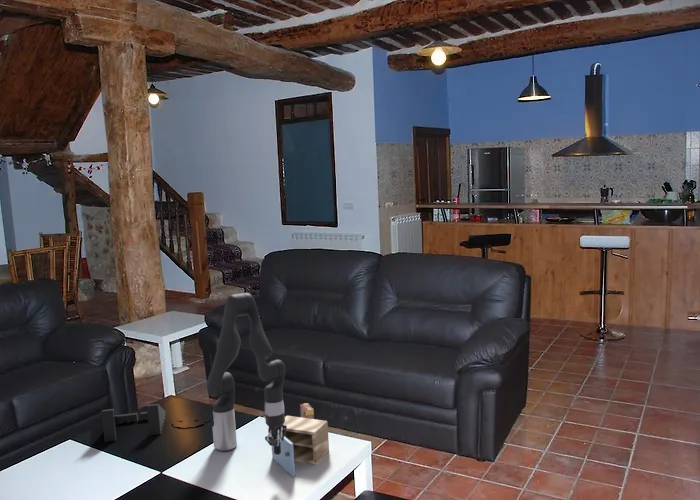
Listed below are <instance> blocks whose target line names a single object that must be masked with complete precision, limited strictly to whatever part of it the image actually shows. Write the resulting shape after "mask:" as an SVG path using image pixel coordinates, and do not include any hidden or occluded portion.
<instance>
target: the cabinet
mask: <svg viewBox="0 0 700 500" xmlns="http://www.w3.org/2000/svg"><path fill="white" fill-rule="evenodd" d="M283 425H286V426H287V428H286V432H285V437H286V438H287V439H288V440H290V441H291V442H292V443H293V449H294V462H300V463H303V464H304V463H305V464H309V463H310V465H318V464H319V463H320V462H321V461H322V459H324V457H326V455H327V454H328V453H329V452H330V446H329V444H330V442H329V426H328V425H329V424H328V421H327V420H324V419H323V420H322V419H315V418H314V419H309V418H301V416H294V415H293V416H292V415H285V422H284V424H283ZM319 461H320V462H319Z"/></svg>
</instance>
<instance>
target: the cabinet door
mask: <svg viewBox="0 0 700 500" xmlns="http://www.w3.org/2000/svg"><path fill="white" fill-rule="evenodd" d="M280 445H281V453H280V454H279V455H276V454H274V446H271V455H272V457H271V458H272V459H273V460H274V461H275V462H277V463H278V465H279V466H281V467H282V468H283V469H284V470H285V471H286V473H288V474H289V475H290V476H291V477H295V476H296V469H295V468H296V467H295V466H296V465H295V461H294V449H293V443H292V442H291V441H290V440H288V439H287V438H286V437H285V436H284V440H283V441H281V444H280Z"/></svg>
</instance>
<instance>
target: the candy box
mask: <svg viewBox="0 0 700 500" xmlns="http://www.w3.org/2000/svg"><path fill="white" fill-rule="evenodd" d="M299 407H300V408H299V411H300V417H301V418H309V419H315V410H314V408H313V407H312V406H311V405H310V403H308V402H307V403H305V402H304V403H301V404H299Z"/></svg>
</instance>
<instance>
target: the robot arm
mask: <svg viewBox="0 0 700 500" xmlns="http://www.w3.org/2000/svg"><path fill="white" fill-rule="evenodd" d="M244 316H247V317H248V320H249V321H250V329H249V334H248V341H249V346H250V348H251V350H252V352H253V355H254V356H255V361H256V367H257V375H258V377H259V378H260V380H262V381H264V382H269V381H271V382H270V383H269V384H267V385H266V386H265V387H264V389H263V391H264V392H263V394H264V417H265V418H264V419H265V424H266V426H268V430H267V431H268V434H267V435H266V436H265V437H264V440H265V441H266V442H267V443H268V445H269V446H271V447H272V446H274V454H276V455H279V454H280V453H281V445H280V444H281V441H283V440H284V436H285V432H286V428H287V426H286V425H283V424H284V422H285V417H286V415H285V403H284V394H283V389H284V388H283V387H284V383H285V378H286V363H284V362H283V361H282V360H281V359H274V360H269V361H267V360H268V359H269V358H270V357H272V355H273V354H274V353H273V352H274V351H273V348H272V346H271V344H270V342H269V339H268V337H267V336H266V333H265V330H264V328H263V324H262V320H261V318H260V313H259V309H258V307H257V304H256V300H255V298H254V297H253V295H252V294H251V293H249V292H241V293H234V294H230V295H228V296H227V298H226V299H225V304H224V311H223V319H222V326H221V330H220V334H219V339H218V343H217V345H216V352H215V354H214V355H215V356H214V360H213V363H212V367H211V369H210V373H209V374H208V377H207V382H206V391H207V393H208V395H209V396H210V397H212V398H216V397H218V398H217V400H215V401H214V402H213V404H212V416H213V426H212V427H211V428H212V438H213V439H212V440H213V447H214V449H216V450H217V451H221V452H222V451H230V450H233V449H234V448H236V447H237V446H238V442H237V429H236V427H237V426H236V417H235V415H236V414H235V402H236V397H235V396H236V394H235V392H236V390H235V387H236V386H235V379H234V377H233V374H232V373H231V372H228V371H227V370H228V368H230V367H231V365H232V364H233V363H234V361H235V360H236V359H237V357H238V355H239V351H240V348H241V343H242V341H241V336H240V334H239V333H238V330H237V329H236V320H237V318H238V317H244Z"/></svg>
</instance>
